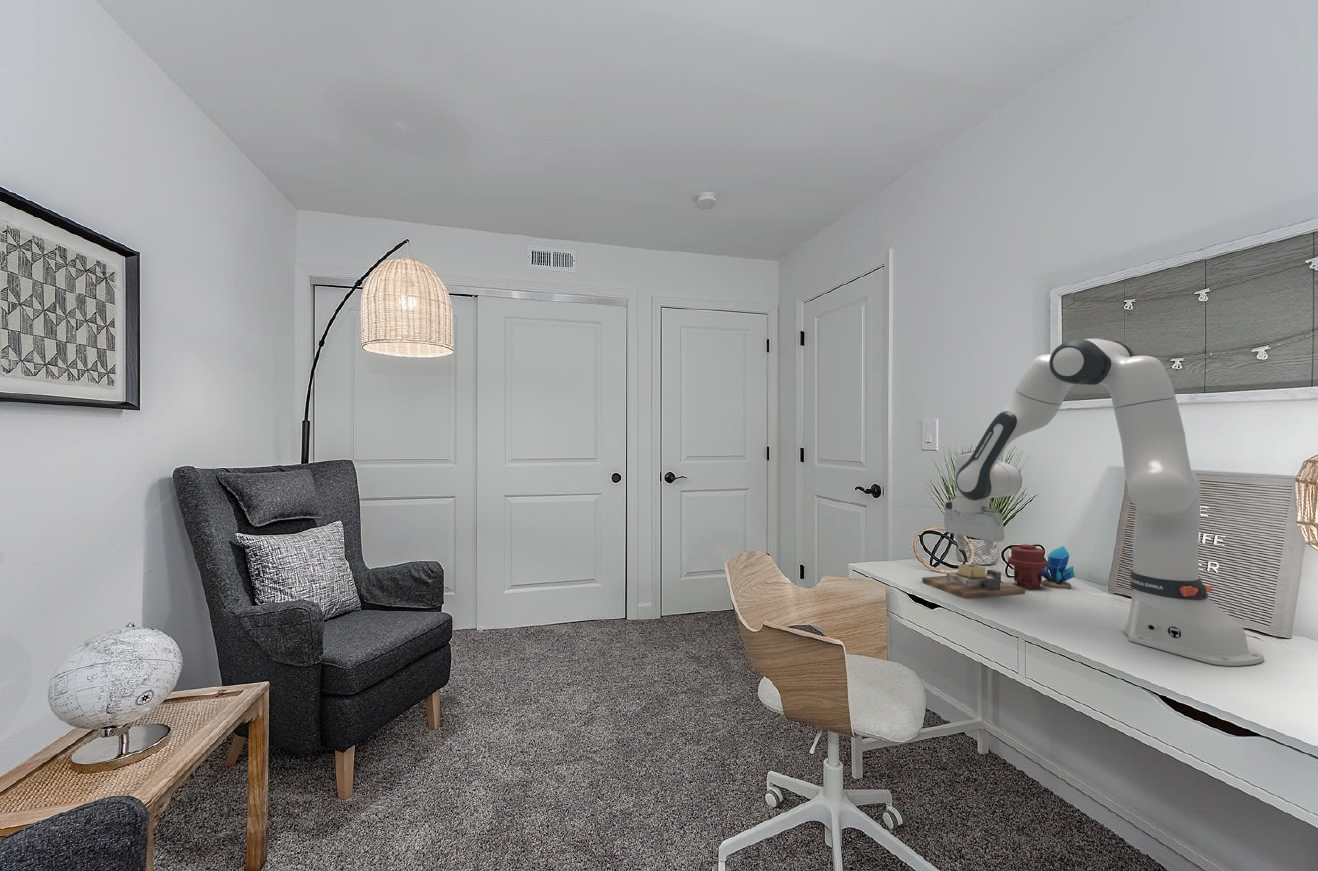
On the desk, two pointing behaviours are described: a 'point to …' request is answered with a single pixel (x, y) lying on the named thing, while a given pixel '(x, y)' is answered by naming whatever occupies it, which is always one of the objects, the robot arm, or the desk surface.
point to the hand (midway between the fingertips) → (973, 552)
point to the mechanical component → (1027, 565)
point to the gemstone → (1058, 569)
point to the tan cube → (972, 571)
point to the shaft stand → (974, 585)
